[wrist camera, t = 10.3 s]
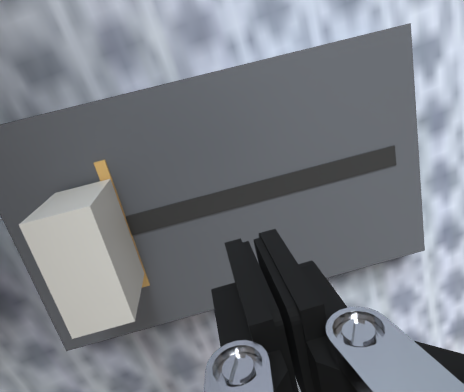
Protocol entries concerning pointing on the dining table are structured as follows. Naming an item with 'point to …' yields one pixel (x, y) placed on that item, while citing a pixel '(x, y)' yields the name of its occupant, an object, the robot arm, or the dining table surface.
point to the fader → (86, 257)
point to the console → (236, 169)
